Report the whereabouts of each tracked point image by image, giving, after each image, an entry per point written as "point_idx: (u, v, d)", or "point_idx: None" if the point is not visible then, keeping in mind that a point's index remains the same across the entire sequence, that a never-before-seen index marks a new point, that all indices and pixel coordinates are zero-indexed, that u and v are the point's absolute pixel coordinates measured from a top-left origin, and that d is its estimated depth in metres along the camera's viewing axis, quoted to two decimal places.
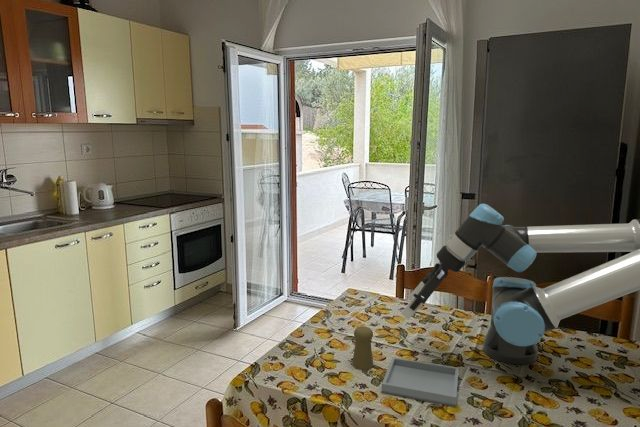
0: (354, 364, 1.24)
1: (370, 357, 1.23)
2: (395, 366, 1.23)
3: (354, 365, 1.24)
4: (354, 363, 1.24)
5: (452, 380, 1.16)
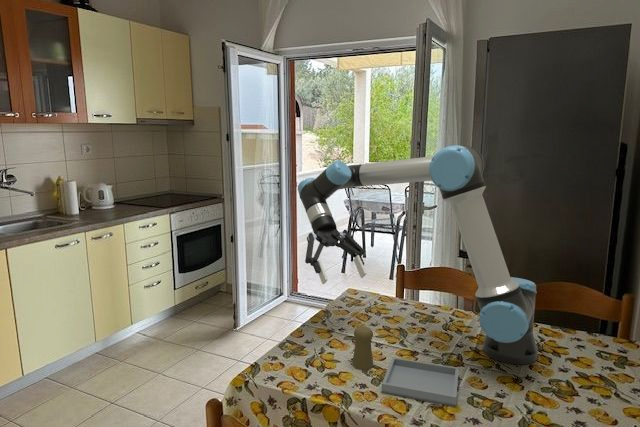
0: (354, 364, 1.24)
1: (370, 357, 1.23)
2: (395, 366, 1.23)
3: (354, 365, 1.24)
4: (354, 363, 1.24)
5: (452, 380, 1.16)
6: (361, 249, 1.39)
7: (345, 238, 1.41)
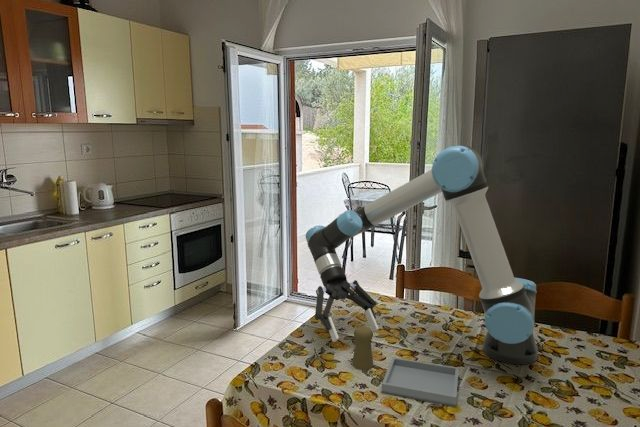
0: (354, 364, 1.24)
1: (370, 357, 1.23)
2: (395, 366, 1.23)
3: (354, 365, 1.24)
4: (354, 363, 1.24)
5: (452, 380, 1.16)
6: (372, 301, 1.34)
7: (355, 289, 1.36)
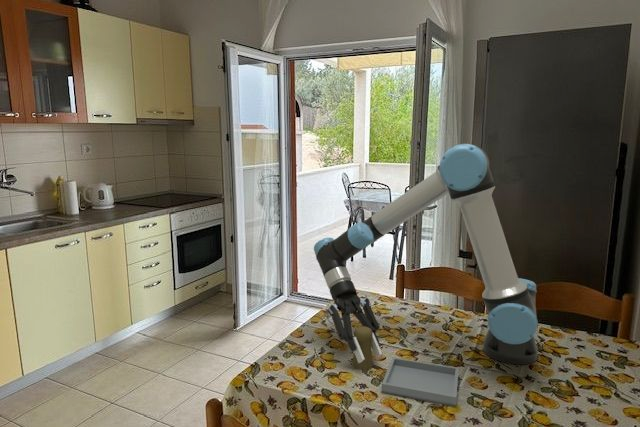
0: (354, 364, 1.24)
1: (370, 357, 1.23)
2: (395, 366, 1.23)
3: (354, 365, 1.24)
4: (354, 363, 1.24)
5: (452, 380, 1.16)
6: (376, 324, 1.28)
7: (364, 307, 1.32)
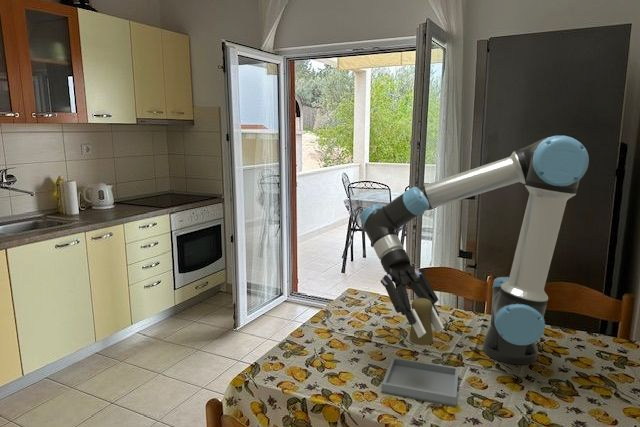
0: (412, 339, 1.12)
1: (430, 331, 1.12)
2: (395, 366, 1.23)
3: (412, 340, 1.12)
4: (412, 338, 1.12)
5: (452, 380, 1.16)
6: (434, 296, 1.16)
7: (419, 278, 1.20)
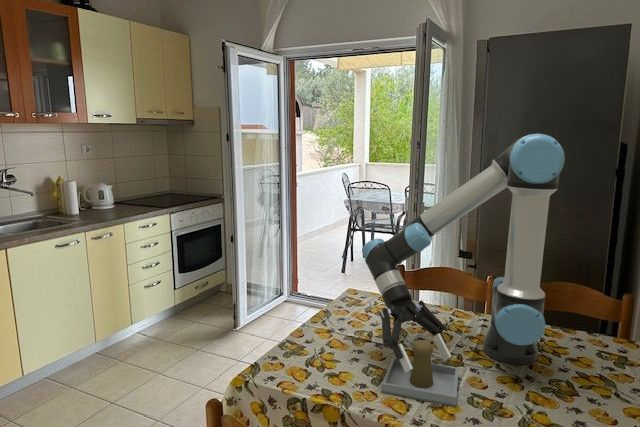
0: (413, 382, 1.14)
1: (430, 374, 1.13)
2: (395, 366, 1.23)
3: (413, 383, 1.14)
4: (412, 380, 1.14)
5: (452, 380, 1.16)
6: (441, 325, 1.20)
7: (421, 311, 1.22)
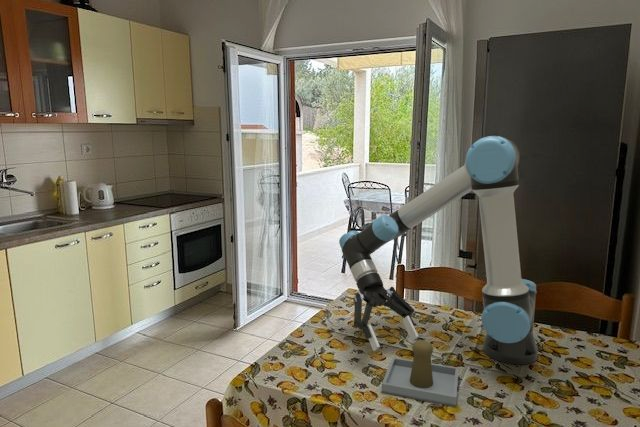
0: (413, 382, 1.14)
1: (430, 374, 1.13)
2: (395, 366, 1.23)
3: (413, 383, 1.14)
4: (413, 380, 1.14)
5: (452, 380, 1.16)
6: (410, 308, 1.31)
7: (392, 296, 1.33)
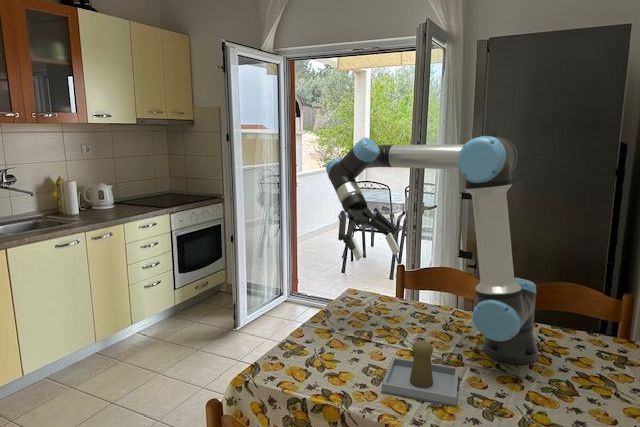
0: (413, 382, 1.14)
1: (430, 374, 1.13)
2: (395, 366, 1.23)
3: (413, 383, 1.14)
4: (413, 381, 1.14)
5: (452, 380, 1.16)
6: (393, 227, 1.38)
7: (376, 216, 1.40)
